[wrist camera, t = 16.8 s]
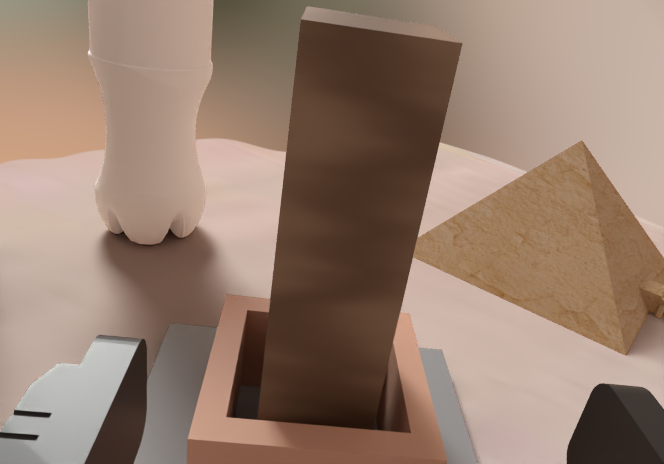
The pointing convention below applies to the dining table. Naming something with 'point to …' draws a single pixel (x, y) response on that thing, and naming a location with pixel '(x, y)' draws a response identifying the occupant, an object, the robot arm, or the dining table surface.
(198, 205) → the water bottle
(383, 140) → the walnut slat
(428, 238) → the model pyramid
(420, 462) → the end cap socket
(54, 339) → the dining table surface
